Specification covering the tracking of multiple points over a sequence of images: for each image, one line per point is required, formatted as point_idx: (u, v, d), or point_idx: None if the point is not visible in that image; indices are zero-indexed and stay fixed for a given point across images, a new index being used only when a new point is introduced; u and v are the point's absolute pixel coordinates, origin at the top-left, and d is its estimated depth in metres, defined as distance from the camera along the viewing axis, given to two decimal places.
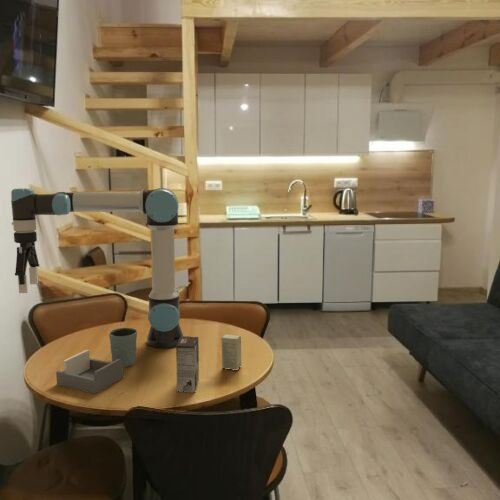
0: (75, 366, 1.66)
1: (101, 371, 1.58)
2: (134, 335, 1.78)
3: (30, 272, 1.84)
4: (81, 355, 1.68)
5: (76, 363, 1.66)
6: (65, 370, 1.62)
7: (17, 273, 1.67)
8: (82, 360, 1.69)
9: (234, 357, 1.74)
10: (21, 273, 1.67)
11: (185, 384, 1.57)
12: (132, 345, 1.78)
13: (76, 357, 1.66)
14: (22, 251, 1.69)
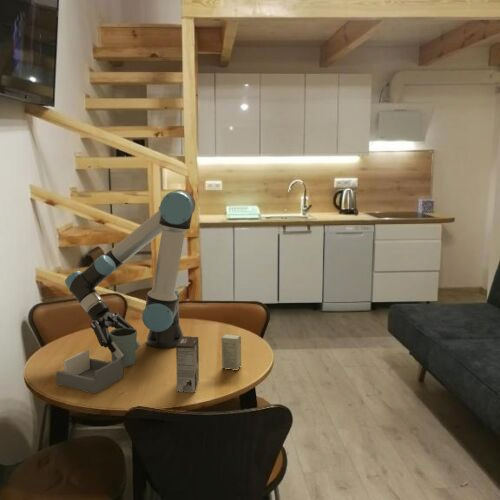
0: (75, 366, 1.66)
1: (101, 371, 1.58)
2: (134, 335, 1.78)
3: None
4: (81, 355, 1.68)
5: (76, 363, 1.66)
6: (65, 370, 1.62)
7: (102, 344, 1.74)
8: (82, 360, 1.69)
9: (234, 357, 1.74)
10: (103, 342, 1.73)
11: (185, 384, 1.57)
12: (132, 345, 1.78)
13: (76, 357, 1.66)
14: (94, 325, 1.76)
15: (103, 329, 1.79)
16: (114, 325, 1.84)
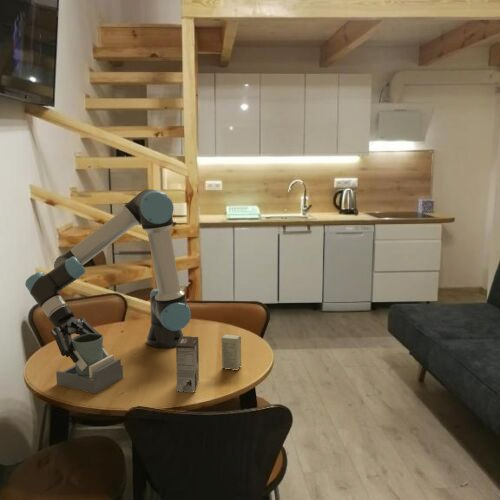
0: None
1: (101, 371, 1.58)
2: (99, 341, 1.62)
3: None
4: (106, 360, 1.64)
5: None
6: (91, 376, 1.58)
7: (63, 354, 1.57)
8: None
9: (234, 357, 1.74)
10: (65, 351, 1.57)
11: (185, 384, 1.57)
12: (97, 352, 1.61)
13: (101, 362, 1.62)
14: (55, 332, 1.59)
15: (65, 336, 1.62)
16: (79, 332, 1.68)
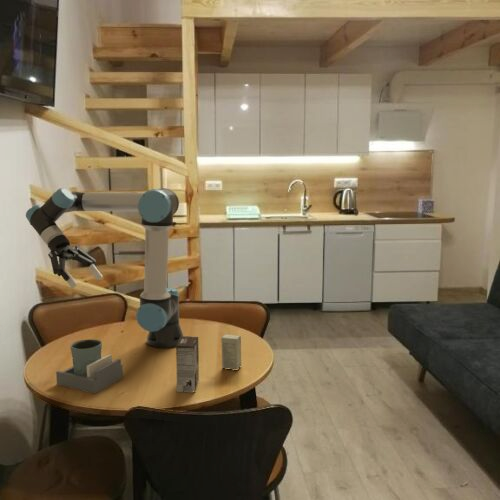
0: None
1: (101, 371, 1.58)
2: (98, 347, 1.63)
3: (91, 271, 1.88)
4: (103, 360, 1.64)
5: (99, 368, 1.62)
6: (88, 375, 1.58)
7: (55, 272, 1.74)
8: (105, 365, 1.65)
9: (234, 357, 1.74)
10: (56, 270, 1.73)
11: (185, 384, 1.57)
12: (96, 358, 1.62)
13: (99, 362, 1.62)
14: (51, 254, 1.77)
15: (60, 259, 1.80)
16: (75, 258, 1.86)
